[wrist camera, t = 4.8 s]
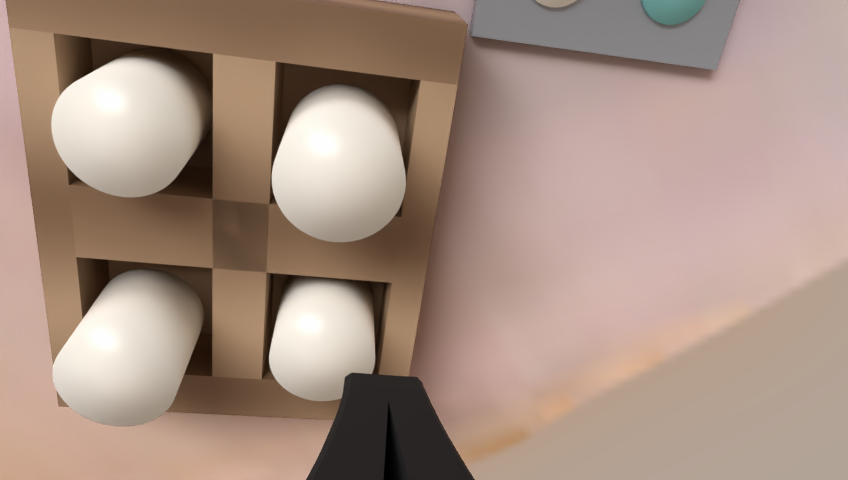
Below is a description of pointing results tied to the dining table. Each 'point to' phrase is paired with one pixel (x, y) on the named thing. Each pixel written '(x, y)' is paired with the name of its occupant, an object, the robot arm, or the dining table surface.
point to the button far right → (322, 335)
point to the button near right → (339, 165)
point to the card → (614, 27)
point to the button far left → (130, 349)
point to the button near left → (133, 122)
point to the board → (238, 173)
